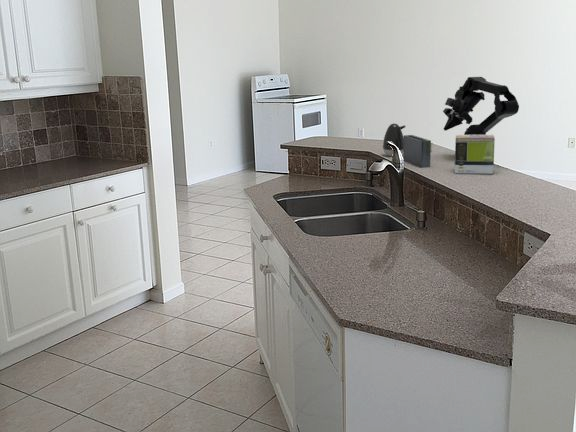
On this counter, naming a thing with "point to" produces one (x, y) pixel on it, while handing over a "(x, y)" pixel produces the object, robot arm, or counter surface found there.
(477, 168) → the tea box
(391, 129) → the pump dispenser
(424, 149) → the button panel
